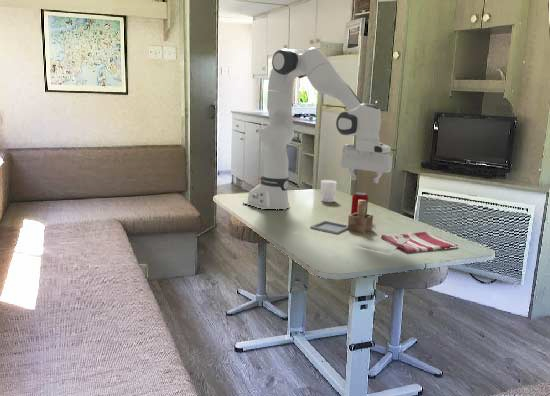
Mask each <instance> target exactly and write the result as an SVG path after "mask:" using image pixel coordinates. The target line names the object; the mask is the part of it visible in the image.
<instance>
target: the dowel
mask: <svg viewBox="0 0 550 396" xmlns="http://www.w3.org/2000/svg"><path fill="white" fill-rule="evenodd" d="M365 212H366V200H358V210H357V217H362V218H365Z"/></svg>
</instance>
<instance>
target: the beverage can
mask: <svg viewBox="0 0 550 396" xmlns="http://www.w3.org/2000/svg"><path fill="white" fill-rule="evenodd" d="M351 198H352V200H351V209H350V215H351V214H353V213H356V212H357V210H358V200H366V212H365V214H368V204H369V196H368V193H367V192H364V191H354V192H353V195H352V197H351Z"/></svg>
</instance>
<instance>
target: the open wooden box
mask: <svg viewBox="0 0 550 396" xmlns="http://www.w3.org/2000/svg"><path fill="white" fill-rule="evenodd" d="M373 222H374V215H373V214H368V213H367V214H365V218H362V217H357V212H356V213H353V214H351V213H350V214H349V215H348V223H347V225H348V230H347V231H349V232H350V231H351V232H355V233H360V234H366V233H368V232H370V231H372V230H373Z"/></svg>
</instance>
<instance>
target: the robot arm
mask: <svg viewBox="0 0 550 396" xmlns="http://www.w3.org/2000/svg"><path fill="white" fill-rule="evenodd" d="M271 58H272V59H271V66H272V68H271V70H270V73H269V78H268V85H267V99H266V100H267V101H266V103H267V104H266V108H267V113H268V118H269V124H267V125H266V126H265V127H264V128H263V129H262V130H261V133H260V141H261V143H262V149H263V158H264V167H263V168H264V169H263V170H264V171H263V176H259V178H258V181H260V183H259V184H258V185H256V186H255V187H254V188H252V189H250V190H249V192H248V196H247V199H245V200H243V201H242V204H243V203H244V204H243V205H245V204H248V205H251V206H255V207H258V208H261V209H260V210H262V209H276V210H275V211H280V210H279V209H283V210H287V208H288V209H289V207H291V206H290V202H289V192H288V191H289V190H288V189H289V183H290V181H289V180H290V177H289V163H290V162H289V157H288V150H287V146H288V144H290V143H291V142H292V140H293V139H294V137H295V131H294V121H293V109H292V108H293V91H294V90H293V88H294V80H295V79H296V78H298V79H302V78H304V77H307V79H308V81H309V83H310V85H311V87H313V88H314V89H315V90H316V91H317V92H318V93H320V94H323V95H327V96H330V97H332V98H335V99H336V100H338V101H339V102H341V103H342V104H343V106H344V107H345V108H346V111H342V112H341V113H339V114H338V115H337V118H336V120H335V121H336V122H335V124H336V130H337V131H338V133H339V134H341V135H343V136H354V137H355V144H347V143H346V144H345V145H343V146H342V150H341V153H342V155H341V160H340V166H341V168H346V169H348V172H349V174H350V180H351V181H356V180H357V175H355V172H354V171H355V170H360V171H366V172H367V171H369V172H375V173H376V175H377V176H376V177H374V178H373V181H372V182H373V184H379V182H380V181H379V180H380V178H381V176H382V175H383V174H384V173H385V174H388V173H390V172H391V171H392V167H393V156H392V154H391V153H390V152H391V151H392V148H391V146H389V145H387V144H385V143H383V142H381V141H380V130H381V123H382V114H381V112H382V111H381V107H379V106H378V105H377V104H373V103H369V102H362V101H361V100H360V99H359V98H358V96H357V95H356V93H355V92H354V91H353V90H352V88H351V87H350V85H348V84H347V82H346V81H345V80H344V79H343V78H342V77H341V76H340V74H338V72H337V70H336V69H335V68H334V66H333V64H332V63H331V62H330V60H329V59H328V57H327V56H326V54H324V52H322V50H320V48H317V47H309V48H308V49H306V50H303V49H298V48H297V49H296V48H295V49H293V48H292V49H290V48H281V49H278V50H277V51H275V52H274V54H273V56H272V57H271ZM248 205H247V206H248ZM251 206H250V207H251ZM255 207H254V208H255ZM258 208H257V209H258ZM277 209H278V210H277Z"/></svg>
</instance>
